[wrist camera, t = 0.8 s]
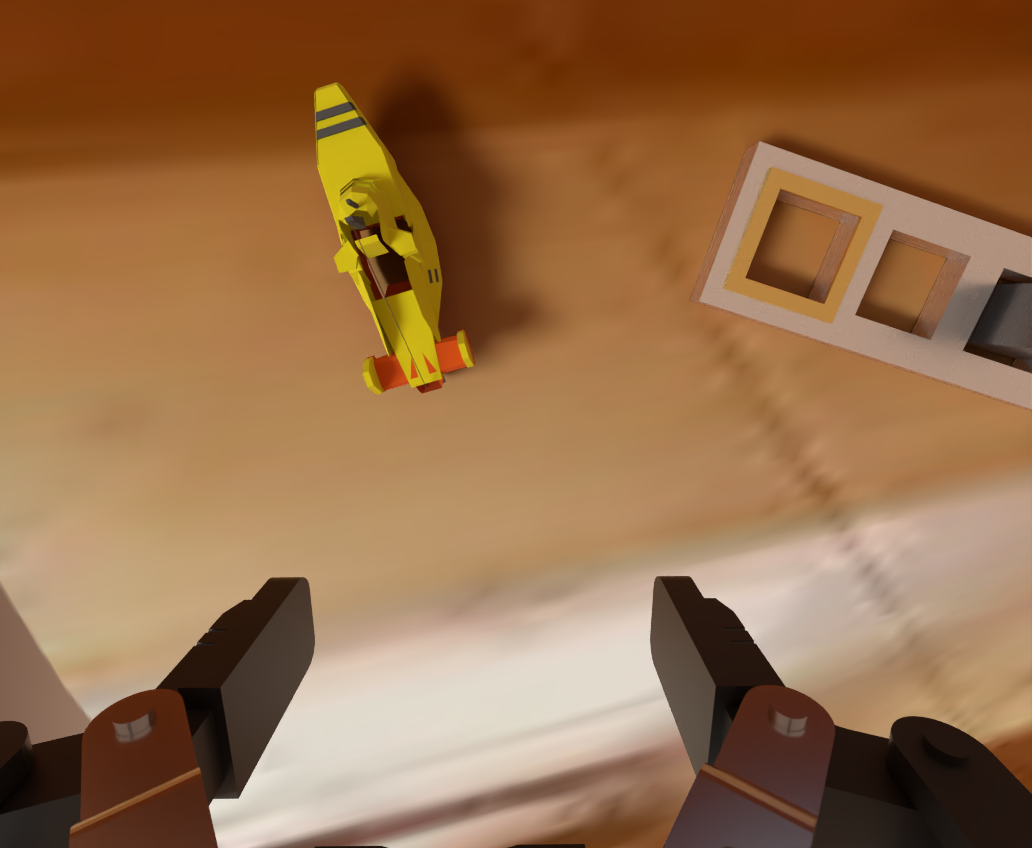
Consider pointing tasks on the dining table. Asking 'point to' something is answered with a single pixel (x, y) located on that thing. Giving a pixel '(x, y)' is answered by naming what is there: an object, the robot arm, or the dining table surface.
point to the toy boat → (380, 202)
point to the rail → (868, 271)
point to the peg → (1006, 322)
